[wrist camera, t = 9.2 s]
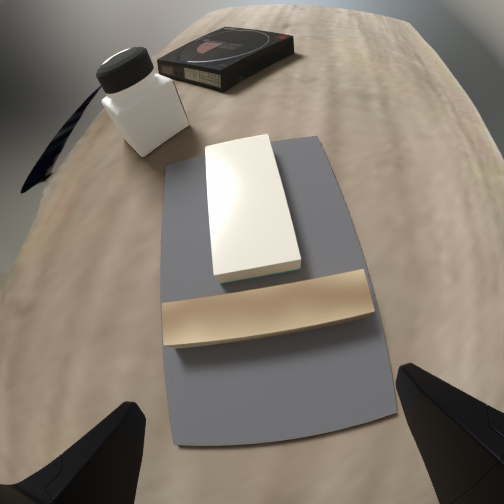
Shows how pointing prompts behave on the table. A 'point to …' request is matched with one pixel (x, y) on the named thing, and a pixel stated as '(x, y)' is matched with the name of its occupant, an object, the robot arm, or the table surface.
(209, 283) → the mat
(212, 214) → the tile
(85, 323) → the table surface
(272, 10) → the table surface
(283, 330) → the ledge
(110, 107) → the medicine bottle
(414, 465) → the table surface
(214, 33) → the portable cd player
